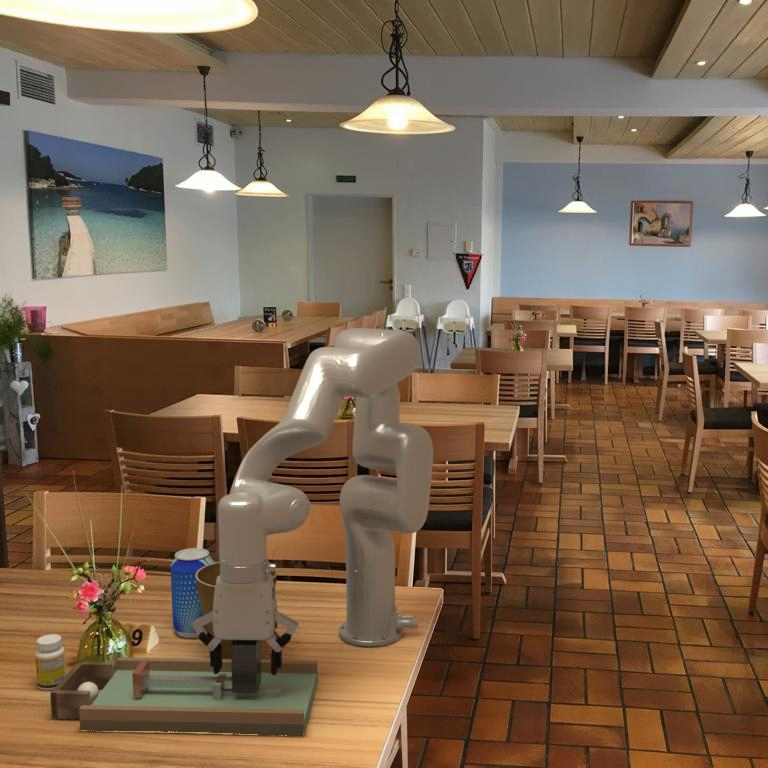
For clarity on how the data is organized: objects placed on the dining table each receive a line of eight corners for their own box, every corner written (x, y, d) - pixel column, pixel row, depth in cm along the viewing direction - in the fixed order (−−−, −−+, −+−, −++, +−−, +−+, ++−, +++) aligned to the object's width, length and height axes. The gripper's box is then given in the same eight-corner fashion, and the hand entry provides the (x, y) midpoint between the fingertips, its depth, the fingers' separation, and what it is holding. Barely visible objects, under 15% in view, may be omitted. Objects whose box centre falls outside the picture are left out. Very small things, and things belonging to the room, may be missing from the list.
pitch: (317, 681, 153) (317, 656, 153) (303, 736, 136) (302, 708, 135) (120, 677, 155) (119, 652, 155) (80, 731, 137) (78, 704, 137)
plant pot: (216, 680, 154) (213, 593, 152) (186, 649, 166) (183, 567, 164) (292, 659, 162) (291, 576, 160) (259, 631, 174) (257, 553, 172)
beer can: (221, 623, 178) (219, 547, 176) (209, 640, 170) (206, 561, 168) (181, 621, 179) (178, 546, 177) (167, 639, 171) (163, 560, 169)
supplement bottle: (42, 678, 155) (39, 633, 154) (69, 677, 155) (67, 632, 154) (33, 692, 150) (30, 645, 149) (62, 690, 151) (59, 644, 149)
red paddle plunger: (262, 686, 147) (260, 633, 146) (256, 700, 142) (254, 646, 141) (142, 683, 148) (140, 631, 147) (133, 697, 143) (130, 644, 142)
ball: (98, 700, 148) (103, 681, 148) (91, 710, 145) (96, 691, 144) (79, 694, 148) (83, 675, 148) (70, 704, 145) (75, 685, 144)
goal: (113, 686, 152) (112, 662, 151) (88, 720, 141) (87, 694, 140) (79, 686, 152) (78, 661, 152) (51, 719, 141) (50, 693, 140)
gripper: (300, 562, 145) (302, 661, 147) (196, 561, 146) (200, 659, 148) (293, 579, 138) (295, 682, 140) (184, 577, 139) (188, 680, 141)
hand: (246, 670), depth 144 cm, fingers open, 9 cm apart
